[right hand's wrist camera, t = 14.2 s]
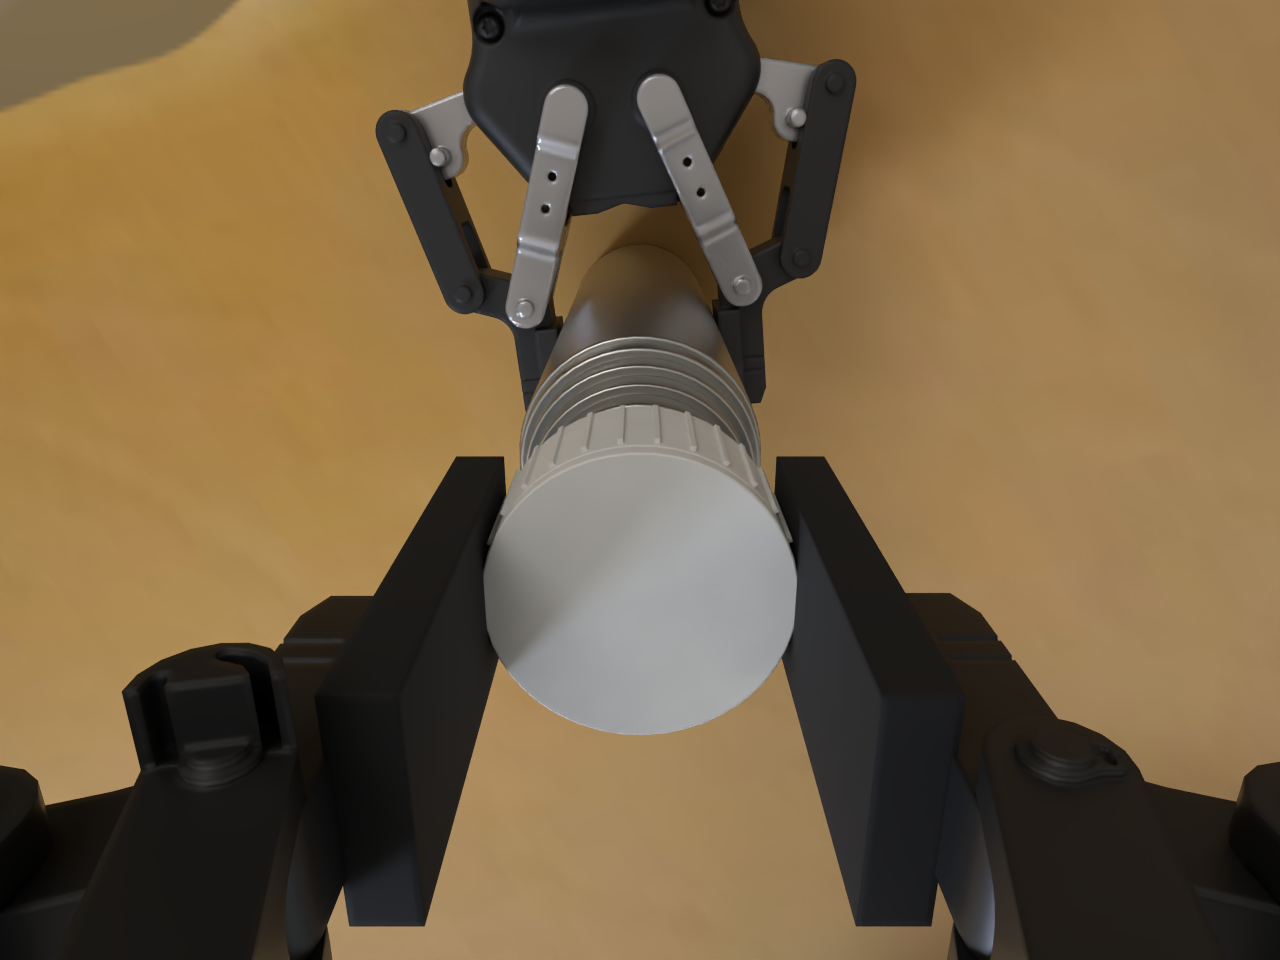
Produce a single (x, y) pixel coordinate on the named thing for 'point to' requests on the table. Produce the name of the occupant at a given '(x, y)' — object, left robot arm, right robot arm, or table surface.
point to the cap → (640, 573)
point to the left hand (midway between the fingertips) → (647, 423)
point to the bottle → (640, 352)
